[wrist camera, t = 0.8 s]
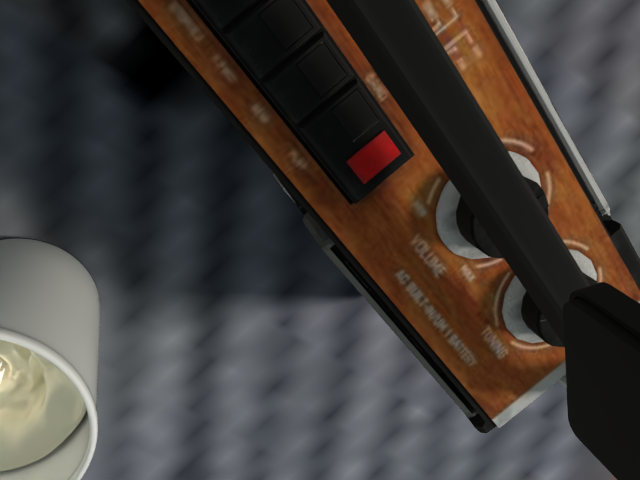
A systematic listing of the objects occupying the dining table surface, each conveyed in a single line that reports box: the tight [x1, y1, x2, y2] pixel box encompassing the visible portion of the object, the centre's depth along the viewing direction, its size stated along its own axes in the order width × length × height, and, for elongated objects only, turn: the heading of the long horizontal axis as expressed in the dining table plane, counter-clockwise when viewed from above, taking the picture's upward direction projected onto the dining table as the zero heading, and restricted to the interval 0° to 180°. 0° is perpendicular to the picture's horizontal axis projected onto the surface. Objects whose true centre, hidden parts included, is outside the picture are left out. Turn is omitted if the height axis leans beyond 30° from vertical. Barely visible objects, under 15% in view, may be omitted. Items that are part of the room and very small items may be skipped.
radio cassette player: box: [127, 0, 640, 433], centre depth 26 cm, size 29×10×20 cm, turn 38°
